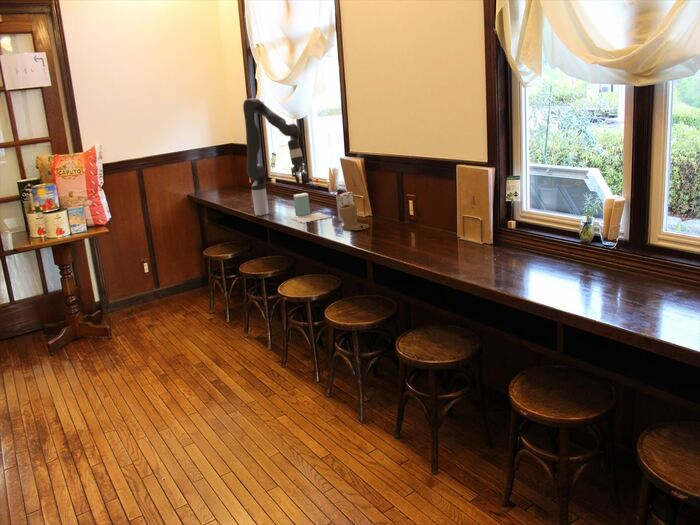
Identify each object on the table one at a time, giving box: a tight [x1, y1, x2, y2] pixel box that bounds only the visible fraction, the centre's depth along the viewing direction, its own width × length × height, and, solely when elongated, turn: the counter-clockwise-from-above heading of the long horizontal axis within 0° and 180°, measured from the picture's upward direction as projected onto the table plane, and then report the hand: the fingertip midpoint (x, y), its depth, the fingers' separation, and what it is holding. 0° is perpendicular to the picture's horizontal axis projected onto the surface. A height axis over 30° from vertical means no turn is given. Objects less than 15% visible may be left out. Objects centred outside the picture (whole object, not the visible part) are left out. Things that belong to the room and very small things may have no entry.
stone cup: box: [339, 203, 370, 231], centre depth 352 cm, size 15×12×15 cm
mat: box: [290, 212, 332, 224], centre depth 392 cm, size 17×20×1 cm
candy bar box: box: [335, 191, 355, 223], centre depth 377 cm, size 11×5×16 cm, turn 143°
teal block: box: [293, 192, 311, 217], centre depth 399 cm, size 5×8×14 cm, turn 120°
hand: (302, 181), depth 392 cm, fingers open, 8 cm apart
